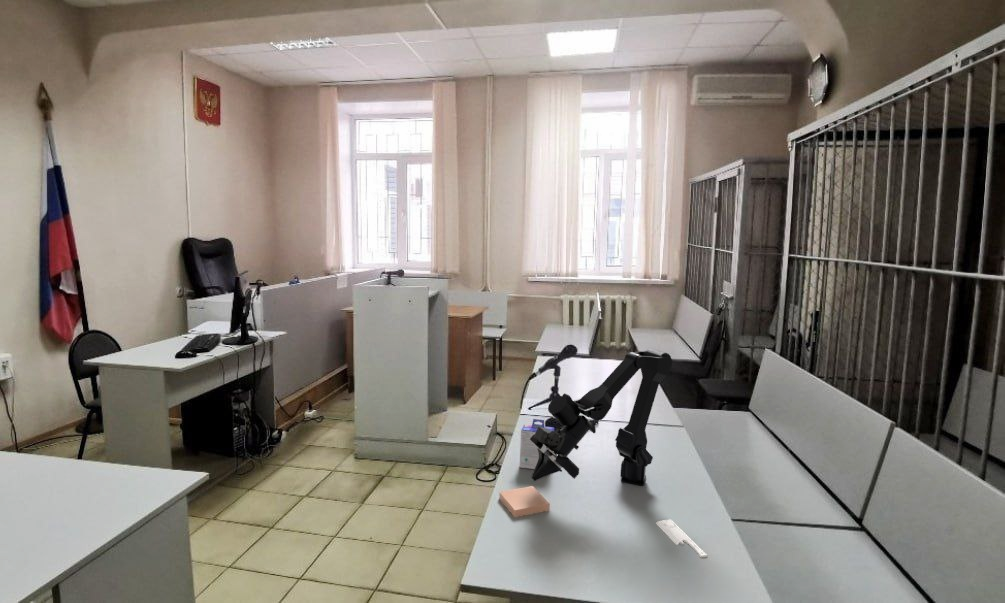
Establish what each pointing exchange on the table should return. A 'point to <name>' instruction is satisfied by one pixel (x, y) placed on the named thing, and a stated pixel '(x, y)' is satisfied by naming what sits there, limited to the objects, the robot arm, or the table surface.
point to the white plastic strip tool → (678, 535)
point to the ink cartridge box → (530, 445)
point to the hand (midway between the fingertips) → (532, 479)
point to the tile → (524, 501)
